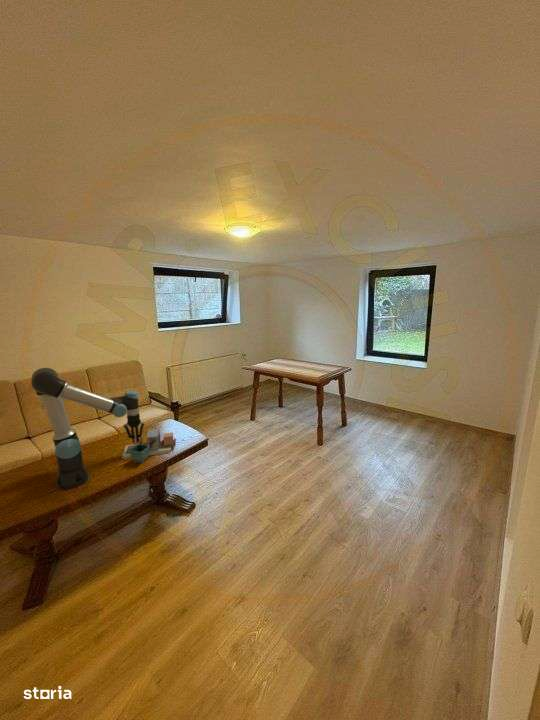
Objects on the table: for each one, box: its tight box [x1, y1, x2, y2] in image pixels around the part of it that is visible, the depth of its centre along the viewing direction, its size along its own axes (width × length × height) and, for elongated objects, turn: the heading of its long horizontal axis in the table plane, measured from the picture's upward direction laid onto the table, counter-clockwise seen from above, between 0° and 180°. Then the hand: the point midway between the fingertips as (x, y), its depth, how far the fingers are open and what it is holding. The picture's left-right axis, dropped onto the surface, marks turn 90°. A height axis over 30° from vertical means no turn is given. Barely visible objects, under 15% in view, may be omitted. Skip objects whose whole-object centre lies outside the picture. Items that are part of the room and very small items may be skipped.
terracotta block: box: [162, 432, 174, 445], centre depth 203 cm, size 6×6×6 cm
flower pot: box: [130, 443, 150, 464], centre depth 187 cm, size 9×9×9 cm
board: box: [121, 444, 172, 460], centre depth 201 cm, size 30×14×3 cm, turn 106°
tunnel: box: [146, 428, 161, 451], centre depth 201 cm, size 7×12×10 cm, turn 16°
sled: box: [138, 436, 177, 448], centre depth 202 cm, size 23×8×6 cm, turn 106°
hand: (136, 446), depth 198 cm, fingers closed
